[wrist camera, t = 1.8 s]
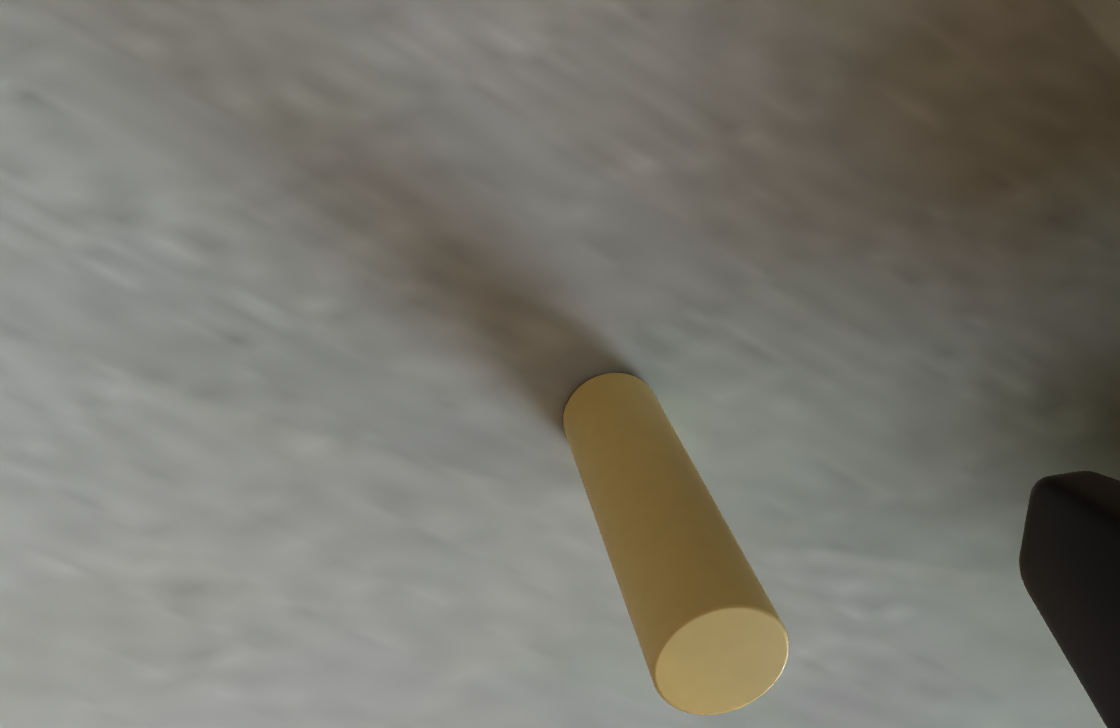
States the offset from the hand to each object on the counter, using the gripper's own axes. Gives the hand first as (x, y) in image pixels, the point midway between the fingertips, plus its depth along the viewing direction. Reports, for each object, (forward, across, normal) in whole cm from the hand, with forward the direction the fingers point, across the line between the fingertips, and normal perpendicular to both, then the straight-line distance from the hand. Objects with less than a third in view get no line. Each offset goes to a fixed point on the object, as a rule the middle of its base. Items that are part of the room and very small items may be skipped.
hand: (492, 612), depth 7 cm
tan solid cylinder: (+13, -3, +6) cm, 15 cm away
